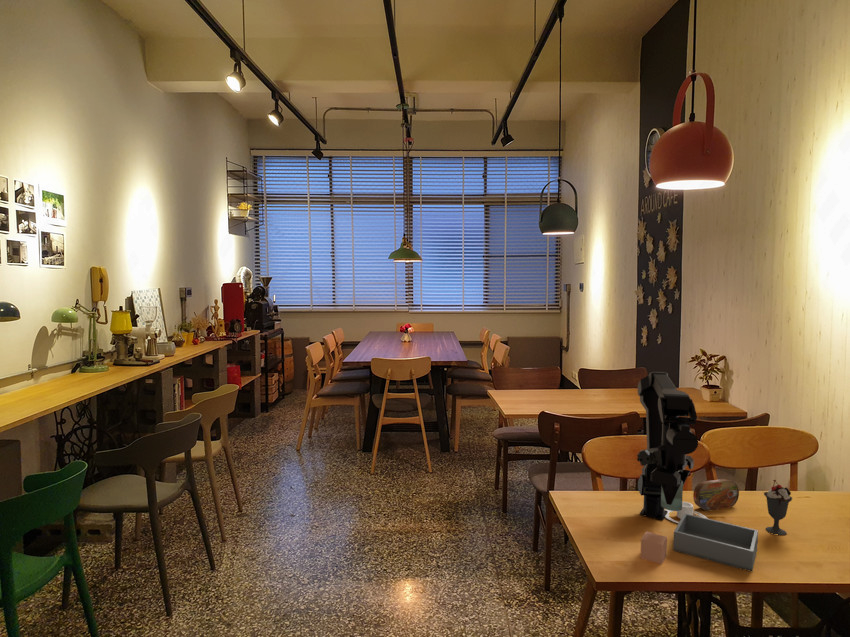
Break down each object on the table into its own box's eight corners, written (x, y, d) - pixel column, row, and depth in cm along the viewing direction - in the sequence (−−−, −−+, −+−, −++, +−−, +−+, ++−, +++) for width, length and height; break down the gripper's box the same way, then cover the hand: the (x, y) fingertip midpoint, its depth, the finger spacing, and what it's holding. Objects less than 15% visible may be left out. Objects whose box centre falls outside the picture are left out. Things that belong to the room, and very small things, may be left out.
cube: (645, 550, 139) (646, 531, 139) (666, 556, 136) (667, 536, 136) (640, 558, 135) (641, 539, 135) (661, 564, 132) (662, 544, 132)
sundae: (762, 534, 148) (765, 480, 147) (760, 524, 154) (763, 472, 153) (791, 539, 145) (794, 484, 144) (788, 529, 151) (791, 476, 150)
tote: (683, 530, 150) (684, 513, 150) (757, 549, 140) (758, 530, 139) (673, 550, 139) (673, 531, 139) (752, 571, 129) (753, 551, 129)
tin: (698, 512, 162) (699, 485, 161) (690, 508, 165) (691, 481, 164) (739, 506, 166) (740, 479, 165) (731, 502, 169) (732, 476, 168)
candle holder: (716, 528, 152) (717, 513, 152) (673, 528, 152) (673, 513, 152) (696, 510, 164) (696, 496, 164) (656, 509, 164) (656, 495, 164)
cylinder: (663, 501, 144) (664, 475, 144) (684, 506, 141) (685, 479, 141) (658, 507, 140) (659, 481, 140) (679, 512, 137) (680, 485, 137)
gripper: (651, 428, 152) (649, 483, 153) (630, 444, 137) (628, 504, 138) (695, 435, 145) (692, 492, 146) (677, 453, 130) (675, 516, 131)
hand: (671, 500), depth 141 cm, fingers closed on cylinder, 5 cm apart
